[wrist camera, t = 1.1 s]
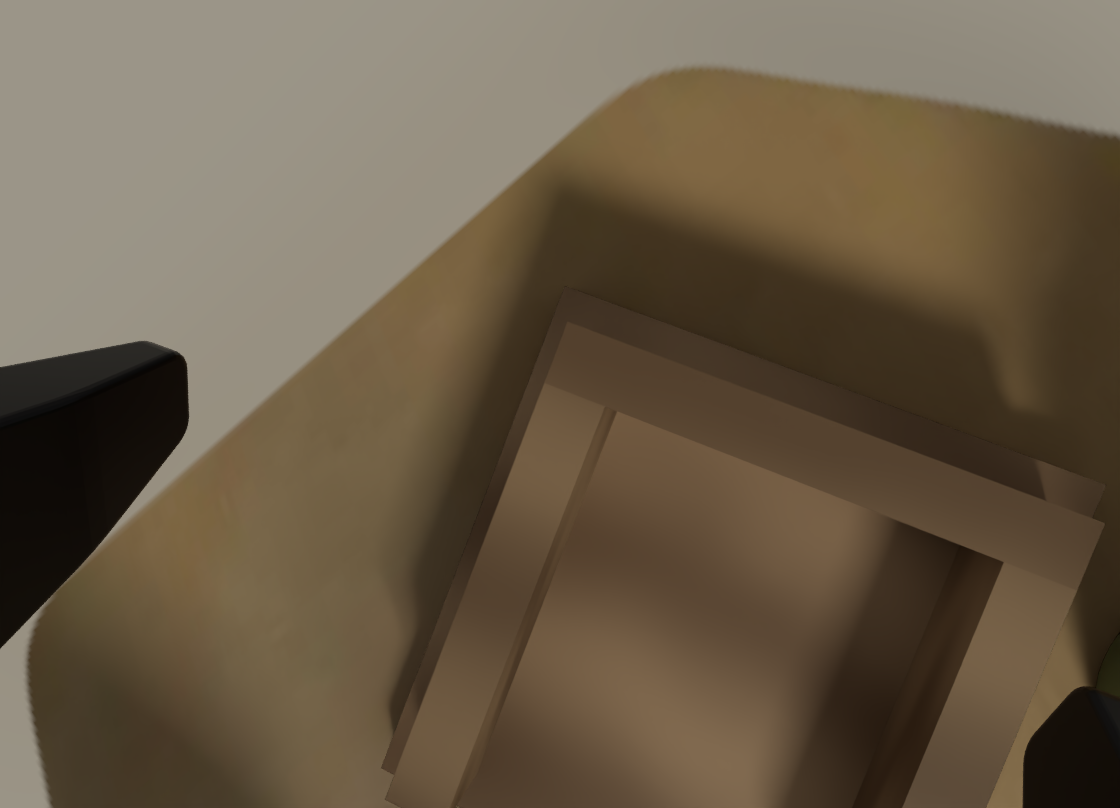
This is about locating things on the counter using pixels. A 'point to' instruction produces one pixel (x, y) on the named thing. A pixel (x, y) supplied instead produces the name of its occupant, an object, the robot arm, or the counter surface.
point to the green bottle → (1110, 670)
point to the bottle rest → (736, 592)
